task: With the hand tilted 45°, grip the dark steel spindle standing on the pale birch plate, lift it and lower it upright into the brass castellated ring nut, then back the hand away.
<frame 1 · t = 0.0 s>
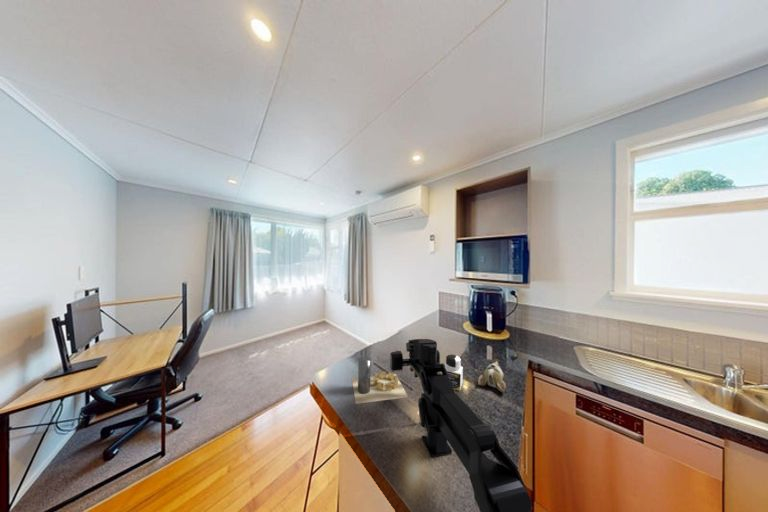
hand: (407, 350, 85), 17 cm above the worktop, fingers open, 9 cm apart
caliper: (438, 369, 104), on the worktop, touching medicine bottle
birch plate: (378, 390, 86), on the worktop
ring nut: (385, 384, 88), resting on birch plate
medicine bottle: (452, 384, 91), on the worktop, touching caliper
steel spindle: (363, 390, 83), point 1 cm above the worktop, touching birch plate
ceramic sculpture: (492, 385, 92), on the worktop
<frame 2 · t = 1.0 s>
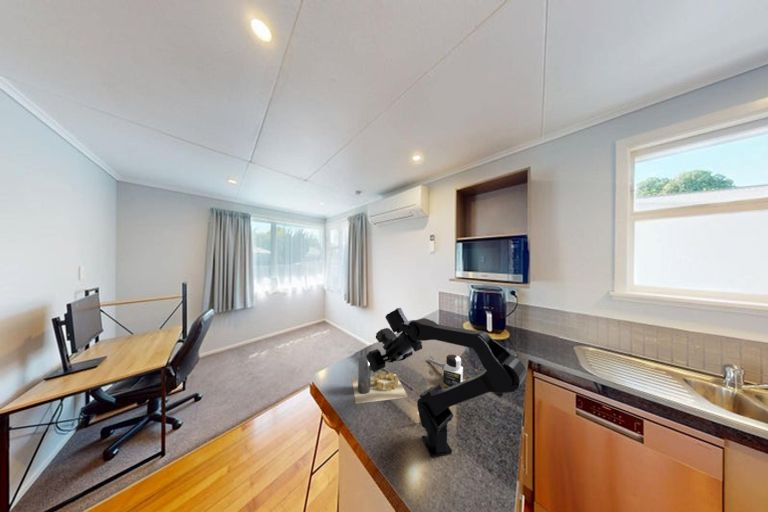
hand: (379, 365, 78), 14 cm above the worktop, fingers open, 9 cm apart
nothing on the worktop moved.
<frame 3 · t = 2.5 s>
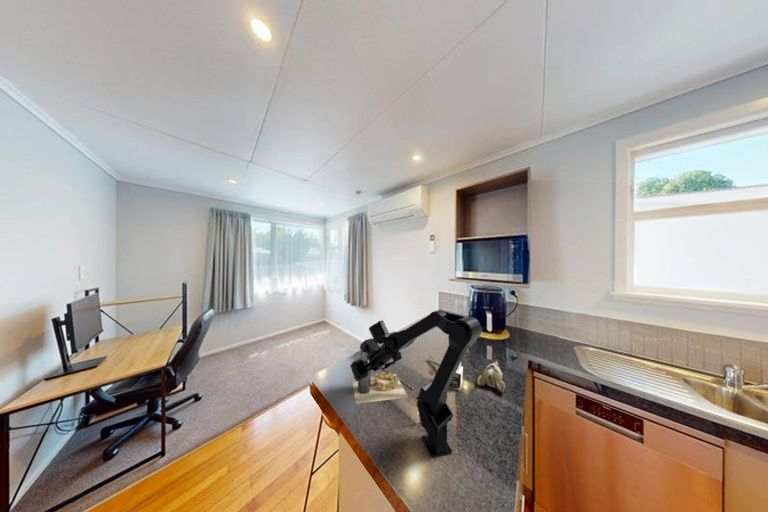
hand: (363, 373, 84), 8 cm above the worktop, fingers open, 9 cm apart
nothing on the worktop moved.
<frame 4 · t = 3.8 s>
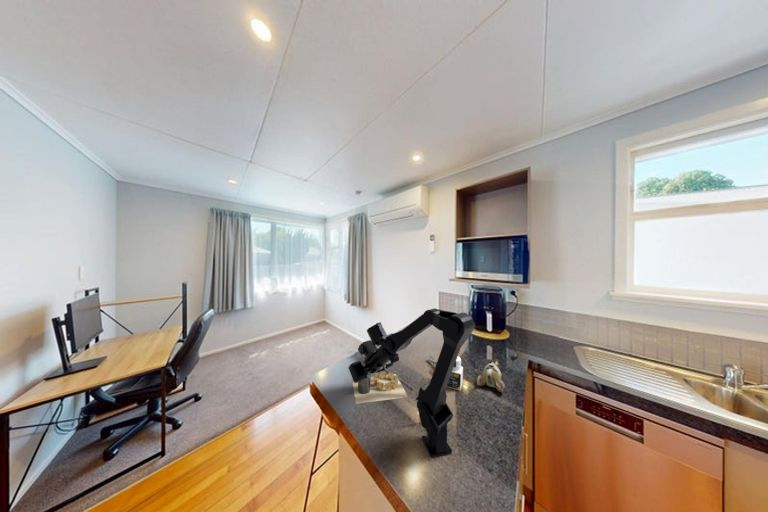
hand: (362, 374, 85), 7 cm above the worktop, fingers closed on steel spindle, 5 cm apart
steel spindle: (363, 390, 83), point 1 cm above the worktop, touching birch plate, gripper
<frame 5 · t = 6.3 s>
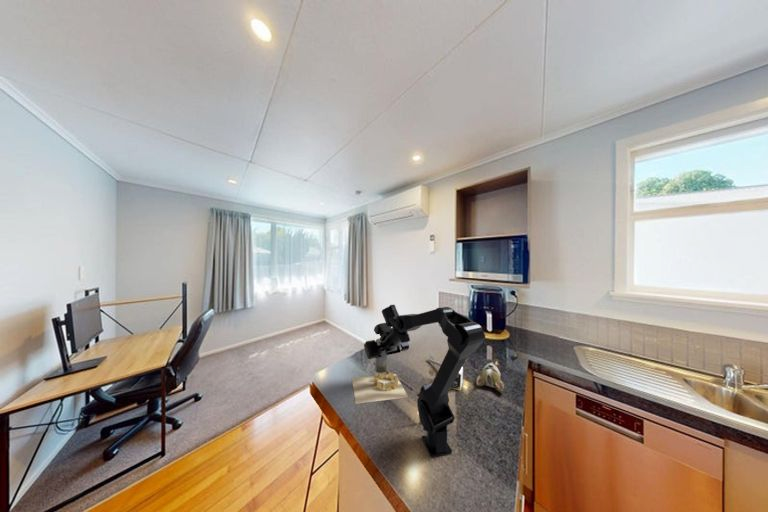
hand: (379, 355, 89), 13 cm above the worktop, fingers closed on steel spindle, 5 cm apart
steel spindle: (380, 369, 87), point 7 cm above the worktop, touching gripper
when the fingers open (8 cm above the worktop, at t = 8.6 s): steel spindle stays where it is, resting on birch plate.
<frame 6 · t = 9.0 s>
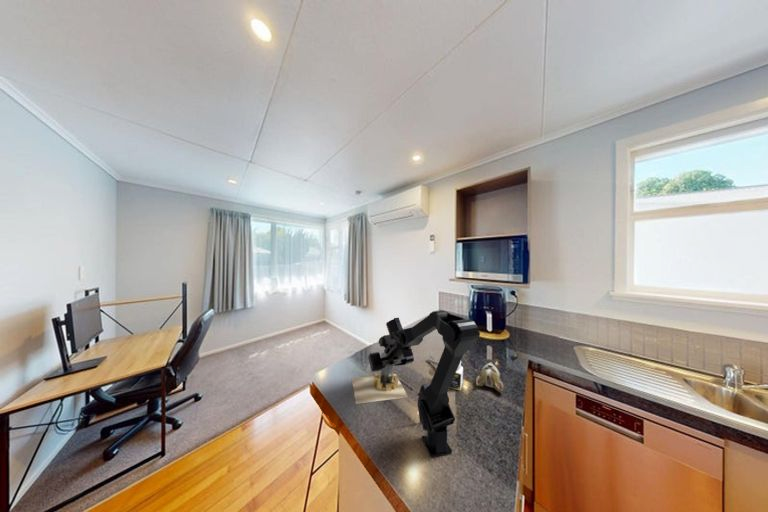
hand: (384, 366, 89), 8 cm above the worktop, fingers open, 9 cm apart
steel spindle: (385, 384, 88), point 1 cm above the worktop, touching birch plate
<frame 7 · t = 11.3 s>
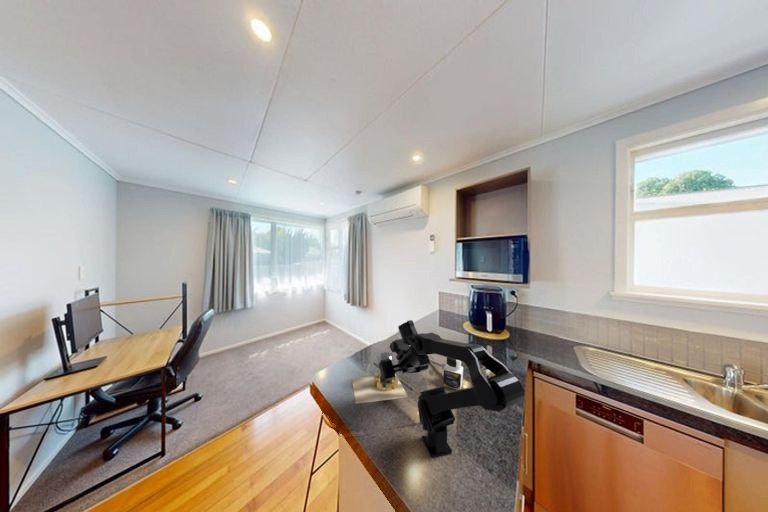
hand: (395, 374, 81), 9 cm above the worktop, fingers open, 9 cm apart
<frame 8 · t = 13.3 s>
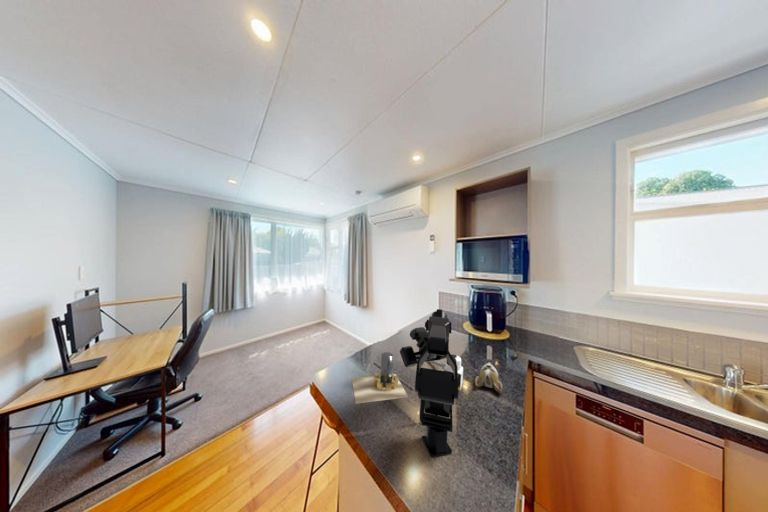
hand: (414, 362, 82), 14 cm above the worktop, fingers open, 9 cm apart
at the end: steel spindle 0.1 cm off-centre on the ring nut, point 0.1 cm above the ring nut's base; steel spindle tilted 1°; the gripper is holding nothing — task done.
